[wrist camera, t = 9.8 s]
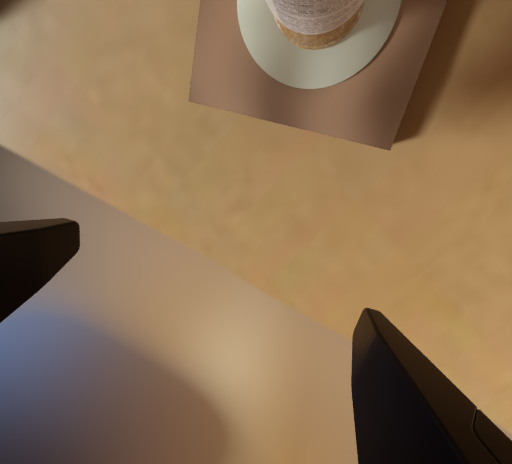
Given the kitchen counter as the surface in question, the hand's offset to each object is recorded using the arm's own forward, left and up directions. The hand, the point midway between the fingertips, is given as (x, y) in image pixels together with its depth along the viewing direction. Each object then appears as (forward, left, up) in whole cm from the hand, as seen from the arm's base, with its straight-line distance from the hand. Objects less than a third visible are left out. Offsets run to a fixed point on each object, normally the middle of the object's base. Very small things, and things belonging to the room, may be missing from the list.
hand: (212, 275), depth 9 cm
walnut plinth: (0, -10, -13) cm, 16 cm away
